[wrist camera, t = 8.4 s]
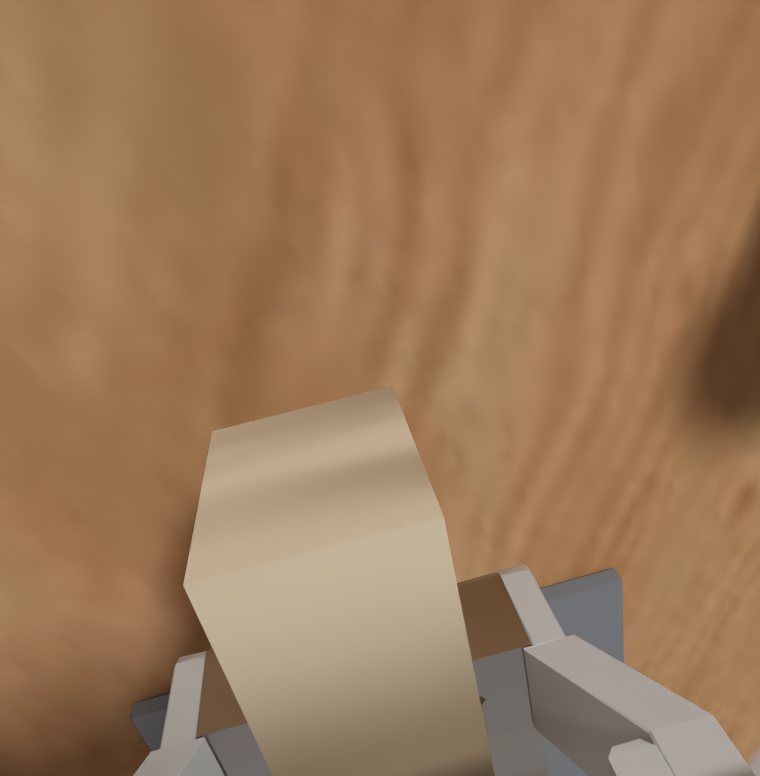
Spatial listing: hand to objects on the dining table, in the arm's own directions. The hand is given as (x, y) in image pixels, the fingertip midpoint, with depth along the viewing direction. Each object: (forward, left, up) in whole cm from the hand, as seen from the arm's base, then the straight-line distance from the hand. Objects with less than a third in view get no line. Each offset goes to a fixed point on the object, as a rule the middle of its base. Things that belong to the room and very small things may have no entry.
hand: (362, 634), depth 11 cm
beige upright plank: (+3, 0, -1) cm, 3 cm away
